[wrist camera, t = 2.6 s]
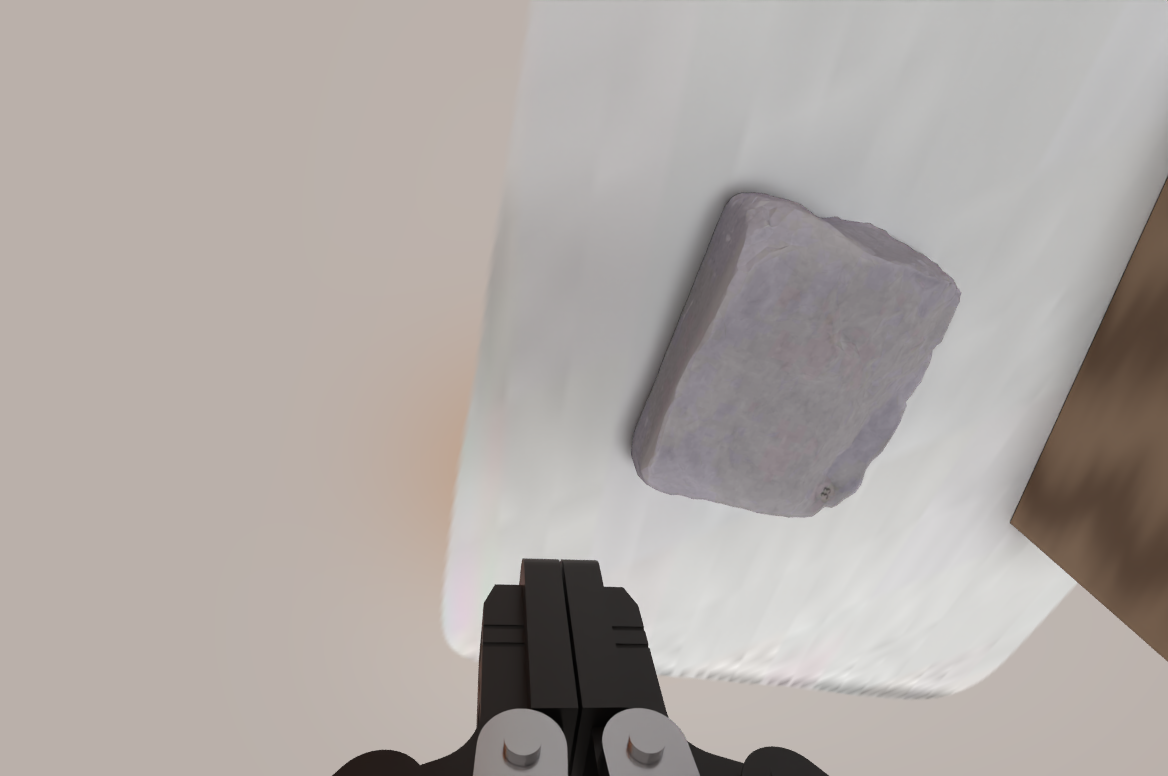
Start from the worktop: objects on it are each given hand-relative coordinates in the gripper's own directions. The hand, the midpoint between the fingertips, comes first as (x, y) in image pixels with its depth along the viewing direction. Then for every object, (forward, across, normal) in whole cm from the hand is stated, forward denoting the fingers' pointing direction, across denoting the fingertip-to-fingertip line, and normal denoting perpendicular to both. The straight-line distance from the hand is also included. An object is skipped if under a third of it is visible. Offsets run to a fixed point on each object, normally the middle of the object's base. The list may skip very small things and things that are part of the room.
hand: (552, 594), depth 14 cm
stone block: (+14, -10, 0) cm, 17 cm away
